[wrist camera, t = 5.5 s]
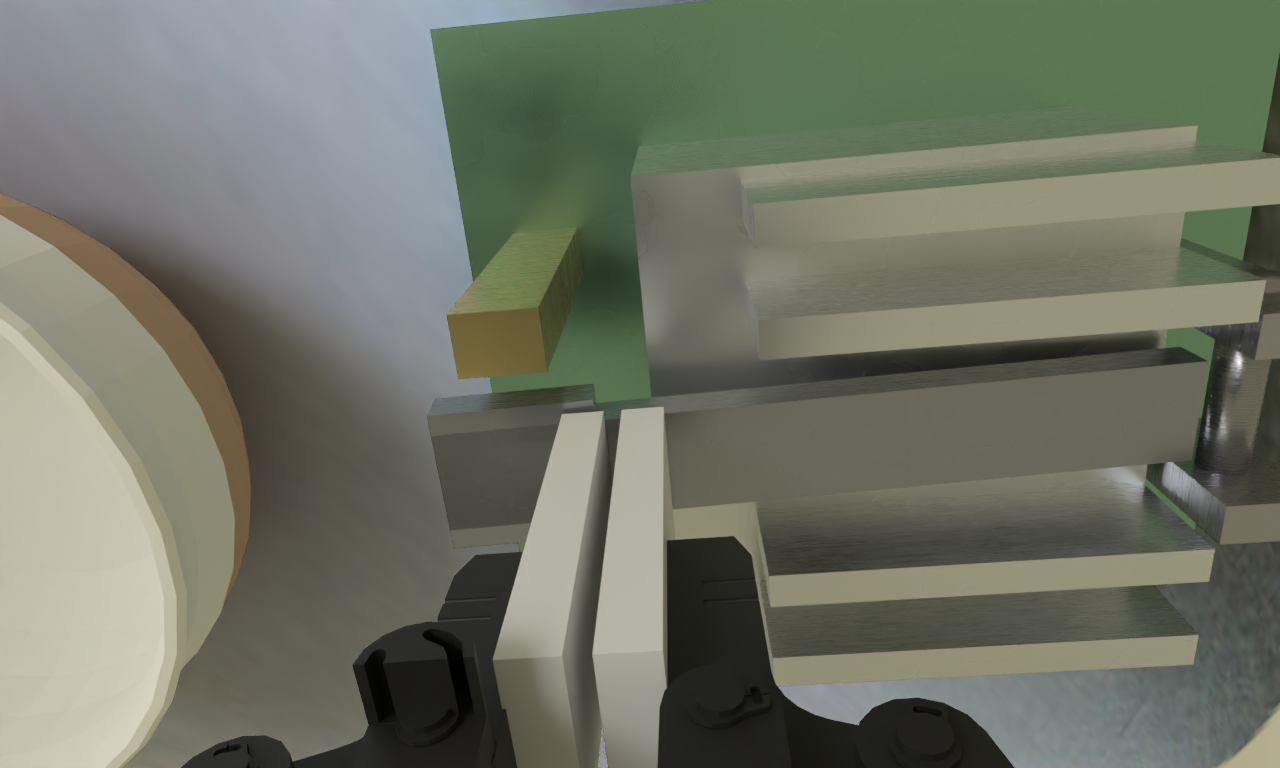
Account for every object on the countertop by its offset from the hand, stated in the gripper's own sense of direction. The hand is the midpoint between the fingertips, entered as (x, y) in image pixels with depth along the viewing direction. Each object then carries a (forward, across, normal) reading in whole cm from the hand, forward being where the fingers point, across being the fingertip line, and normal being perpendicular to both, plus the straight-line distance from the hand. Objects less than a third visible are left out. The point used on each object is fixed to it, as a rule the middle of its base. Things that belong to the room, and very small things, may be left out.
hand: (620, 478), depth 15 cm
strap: (+1, +4, 0) cm, 4 cm away
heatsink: (+8, +6, 0) cm, 10 cm away
